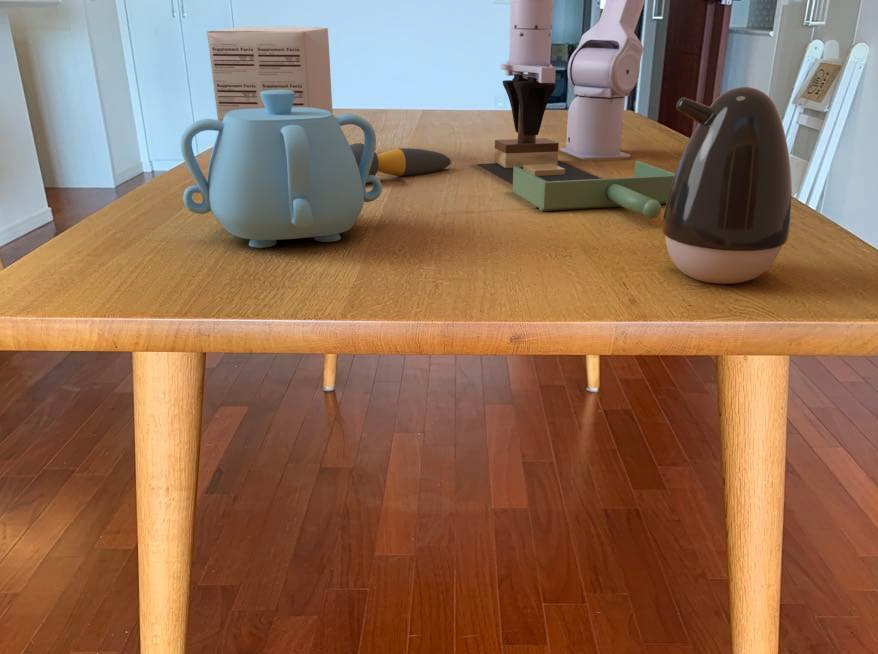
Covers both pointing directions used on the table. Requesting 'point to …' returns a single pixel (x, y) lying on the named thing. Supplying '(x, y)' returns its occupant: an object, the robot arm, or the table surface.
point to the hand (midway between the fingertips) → (526, 133)
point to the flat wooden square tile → (544, 169)
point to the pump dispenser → (730, 190)
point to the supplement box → (269, 66)
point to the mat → (570, 174)
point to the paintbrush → (403, 161)
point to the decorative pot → (282, 172)
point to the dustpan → (598, 191)
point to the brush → (525, 150)
